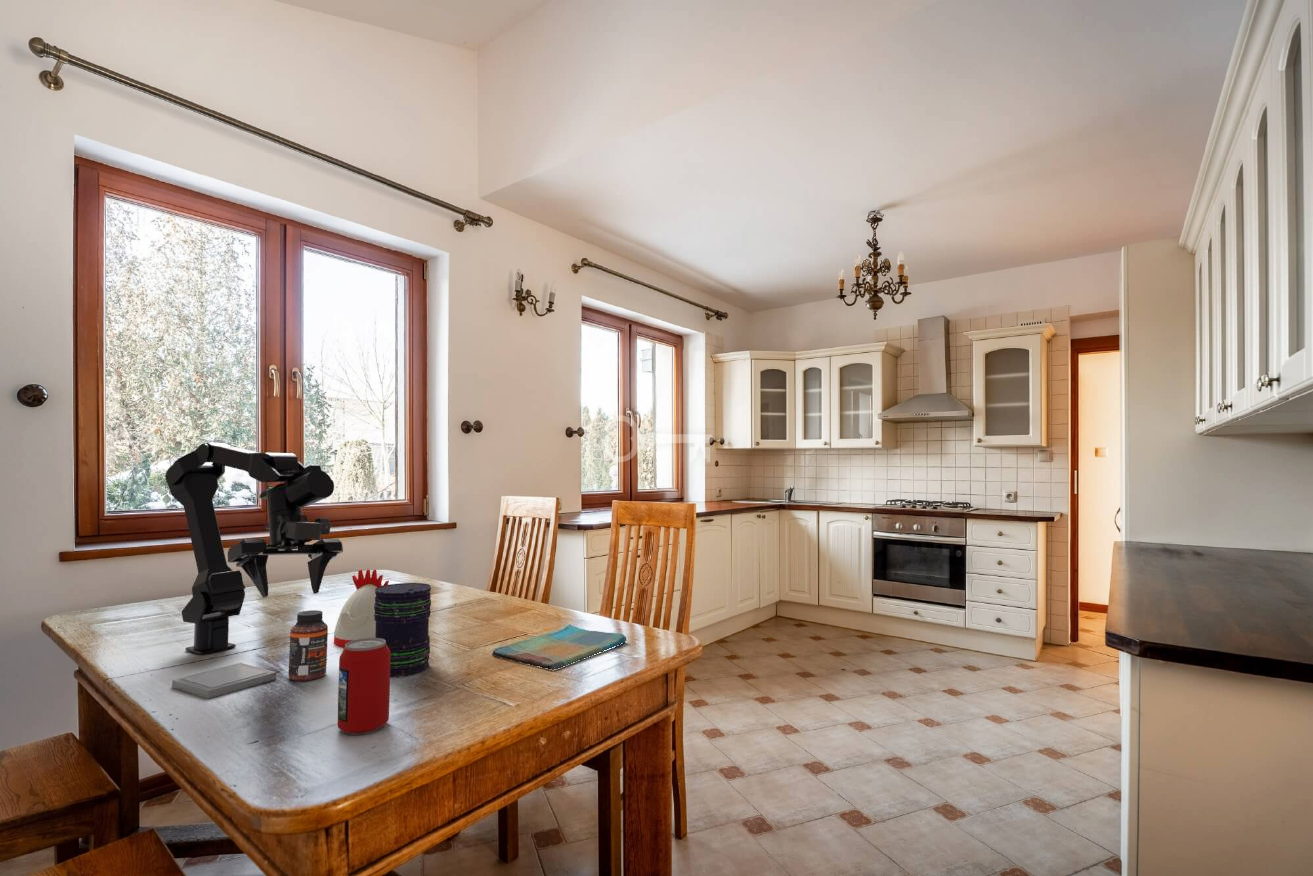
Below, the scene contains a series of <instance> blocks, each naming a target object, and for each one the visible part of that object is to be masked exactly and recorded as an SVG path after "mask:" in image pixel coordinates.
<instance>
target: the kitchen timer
mask: <svg viewBox="0 0 1313 876" xmlns="http://www.w3.org/2000/svg"><path fill="white" fill-rule="evenodd" d="M383 577H384V575H383V574H381V575H379V576H378V572H377V569H373V570H372V572H371V570H370V569H366V572H365V574H364V573H363V570H362V569H360V570H358V572H357V576H356V575H352V576H351V578H352V581H353V583H354V586H355V588H356V590H355V591H354V592H353V593H352V594H351V595H349V597H348V598H347V600H346V601H345V603H344V604H343V606H342V608H341V610H340V613H339V616H338V618H337V621H336V625H335V628H334V634H333V644H334V645H335V646H337V647H339V648H345V644H346V643H348V642H350V641H353V640H358V639H364V638H375V631H376V621H375V620H374V614H375V610H374V603H375V597H376V594H375V589H376V588H377V587H380V586H384V585H389V583H390V580H386V581H384V583H383V584H382V580H383Z"/></svg>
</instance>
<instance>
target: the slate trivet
mask: <svg viewBox="0 0 1313 876" xmlns="http://www.w3.org/2000/svg"><path fill="white" fill-rule="evenodd" d="M276 679H277V671H274V670H270V669H266V668H262V667H258V666H254V665H251V664H245V663H243V662H238V663H235V664H229V665H226V666H223V667H218V668H214V669H211V670H206V671H202V672H199V673H194V674H191V675H187V676H182V677H179V678H175V679H171V680H172V681H171V688H173V689H176V690H179V691H182V692H185V693H189V694H193V695H195V696H198V697H201V698H205V699H208V700H209V699H212V698H216V697H219V696H222V695H225V694H228V693H234V692H236V691H239V690H244V689H246V688H250V687H253V686H257V685H260V684H264V683H267V682H270V681H275V680H276Z"/></svg>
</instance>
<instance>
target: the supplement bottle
mask: <svg viewBox="0 0 1313 876" xmlns="http://www.w3.org/2000/svg"><path fill="white" fill-rule="evenodd" d="M323 613H324V612H323V610H316V609H315V610H311V609H310V610H305V611H299V612H298V613H297V615H296V616H297V617H296V623H295V625H292V627H291V628H290V632H289V633H290V634H289V635H290V636H289V651H288V652H289V654H288V655H289V657H288V678H289V679H290V680H292V681H299V682H306V681H313V680H316V679H320V678H321V677H323V676H325V675H326V673H327V662H328V635H329V632H328V631H329V628H328V624H327V623H326V622H324V620H323Z"/></svg>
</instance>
